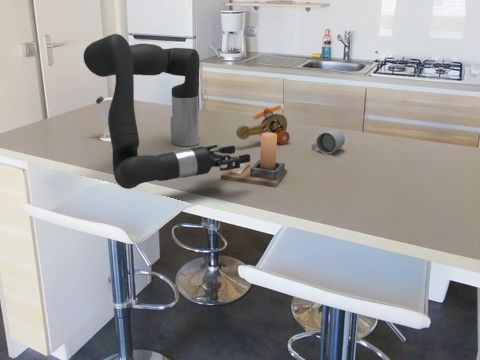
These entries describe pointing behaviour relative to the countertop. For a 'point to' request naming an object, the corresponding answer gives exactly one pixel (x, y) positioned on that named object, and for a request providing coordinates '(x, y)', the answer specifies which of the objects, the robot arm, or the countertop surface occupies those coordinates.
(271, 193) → the countertop surface
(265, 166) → the cylinder
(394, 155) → the countertop surface
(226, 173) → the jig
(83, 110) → the countertop surface
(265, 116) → the toy helicopter
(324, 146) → the ceramic mug
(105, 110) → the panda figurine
